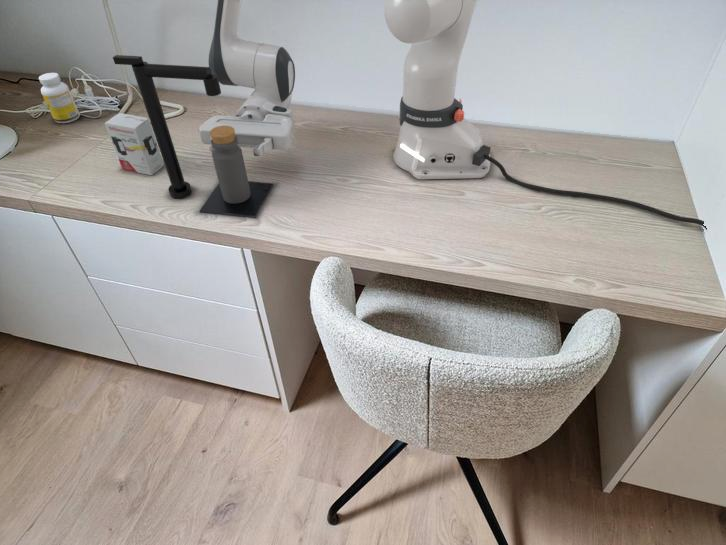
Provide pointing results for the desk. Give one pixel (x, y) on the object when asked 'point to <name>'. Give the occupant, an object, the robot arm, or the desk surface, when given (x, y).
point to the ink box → (134, 143)
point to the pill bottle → (58, 98)
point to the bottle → (229, 165)
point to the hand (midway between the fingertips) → (234, 151)
